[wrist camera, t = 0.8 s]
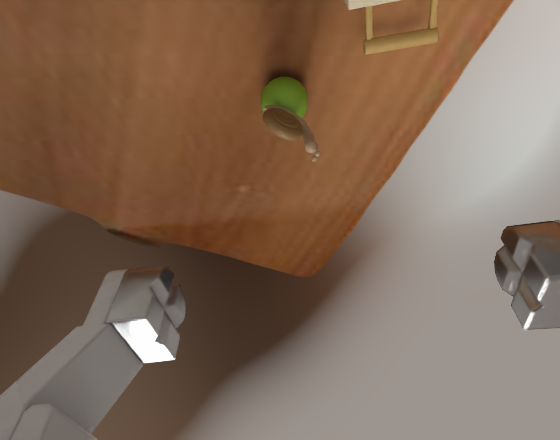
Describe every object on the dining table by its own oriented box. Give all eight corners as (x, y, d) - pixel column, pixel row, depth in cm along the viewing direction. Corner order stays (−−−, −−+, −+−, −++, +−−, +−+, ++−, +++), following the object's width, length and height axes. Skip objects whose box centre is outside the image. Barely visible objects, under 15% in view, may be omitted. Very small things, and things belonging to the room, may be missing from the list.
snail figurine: (300, 122, 49) (305, 178, 40) (254, 101, 47) (248, 155, 38) (322, 85, 46) (332, 137, 37) (273, 60, 44) (271, 109, 35)
